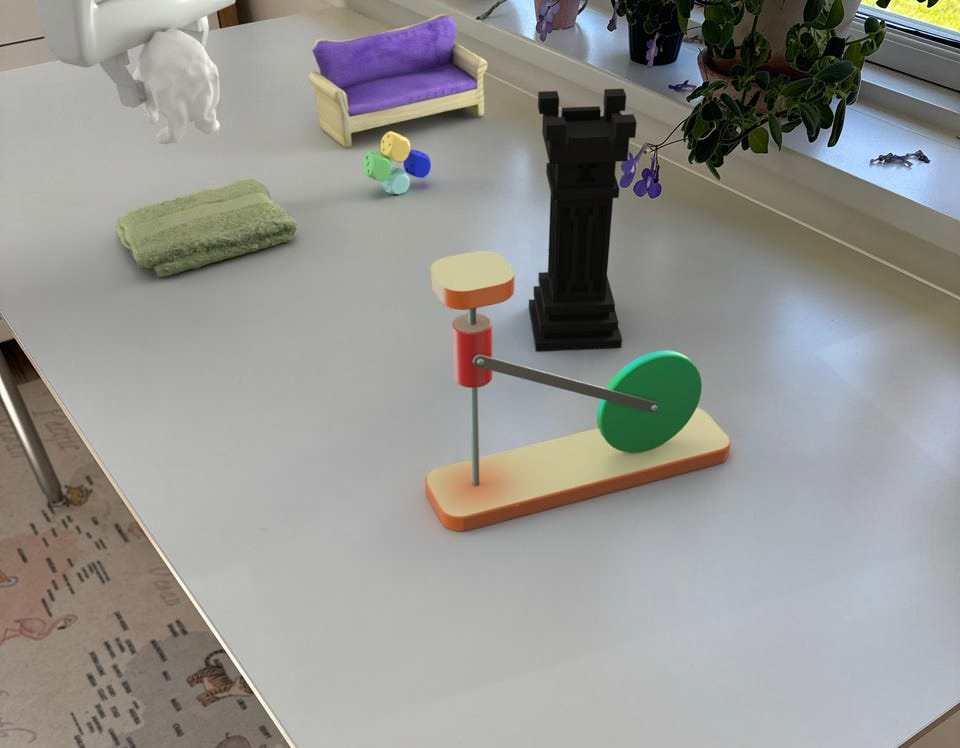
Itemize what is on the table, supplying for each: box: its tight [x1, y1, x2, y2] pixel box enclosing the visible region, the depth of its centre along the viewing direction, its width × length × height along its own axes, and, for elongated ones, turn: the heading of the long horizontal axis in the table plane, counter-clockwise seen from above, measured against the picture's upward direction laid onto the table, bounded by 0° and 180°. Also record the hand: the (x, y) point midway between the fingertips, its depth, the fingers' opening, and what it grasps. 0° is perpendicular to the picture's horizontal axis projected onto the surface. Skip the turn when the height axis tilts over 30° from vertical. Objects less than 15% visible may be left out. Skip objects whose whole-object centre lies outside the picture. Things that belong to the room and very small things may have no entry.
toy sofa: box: [308, 13, 488, 148], centre depth 130 cm, size 21×9×10 cm, turn 119°
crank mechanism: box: [425, 250, 731, 532], centre depth 77 cm, size 25×7×19 cm, turn 111°
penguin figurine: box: [132, 28, 221, 145], centre depth 92 cm, size 6×8×12 cm
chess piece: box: [528, 88, 638, 352], centre depth 92 cm, size 8×8×20 cm
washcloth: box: [114, 177, 299, 278], centre depth 112 cm, size 13×18×3 cm
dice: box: [361, 130, 432, 195], centre depth 118 cm, size 8×3×6 cm, turn 120°
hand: (165, 89), depth 92 cm, fingers closed on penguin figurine, 6 cm apart
